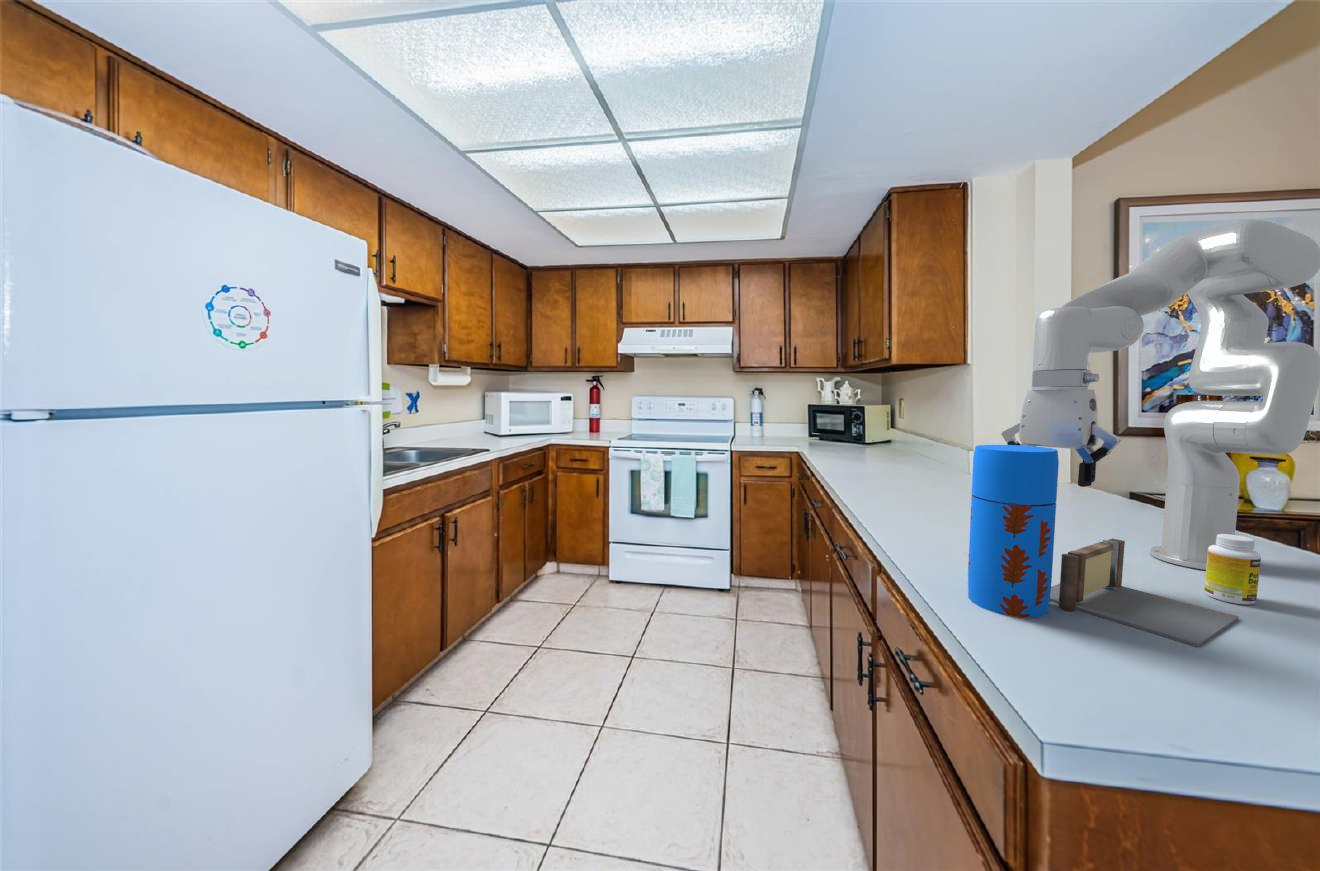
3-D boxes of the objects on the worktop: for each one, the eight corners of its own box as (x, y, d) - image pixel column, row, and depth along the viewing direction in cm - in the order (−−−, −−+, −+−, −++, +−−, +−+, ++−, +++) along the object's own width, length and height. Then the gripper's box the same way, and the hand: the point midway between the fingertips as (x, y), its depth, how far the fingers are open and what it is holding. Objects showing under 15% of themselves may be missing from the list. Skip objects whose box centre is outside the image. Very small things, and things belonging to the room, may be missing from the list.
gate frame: (1080, 577, 89) (1083, 532, 89) (1238, 619, 73) (1243, 563, 72) (1027, 598, 80) (1029, 548, 80) (1192, 650, 64) (1198, 588, 63)
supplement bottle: (1253, 609, 76) (1259, 544, 75) (1200, 597, 80) (1205, 535, 80) (1259, 600, 79) (1265, 538, 78) (1207, 589, 84) (1213, 530, 83)
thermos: (969, 585, 86) (975, 443, 84) (1046, 599, 80) (1055, 446, 78) (964, 607, 77) (972, 449, 75) (1051, 625, 71) (1062, 453, 69)
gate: (1102, 582, 84) (1105, 539, 84) (1117, 586, 83) (1120, 542, 82) (1064, 598, 78) (1067, 551, 77) (1079, 602, 76) (1082, 555, 76)
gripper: (1135, 380, 78) (1127, 487, 80) (1014, 382, 94) (1010, 473, 95) (1115, 380, 75) (1107, 492, 76) (992, 382, 90) (988, 476, 92)
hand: (1053, 481), depth 86 cm, fingers open, 8 cm apart
